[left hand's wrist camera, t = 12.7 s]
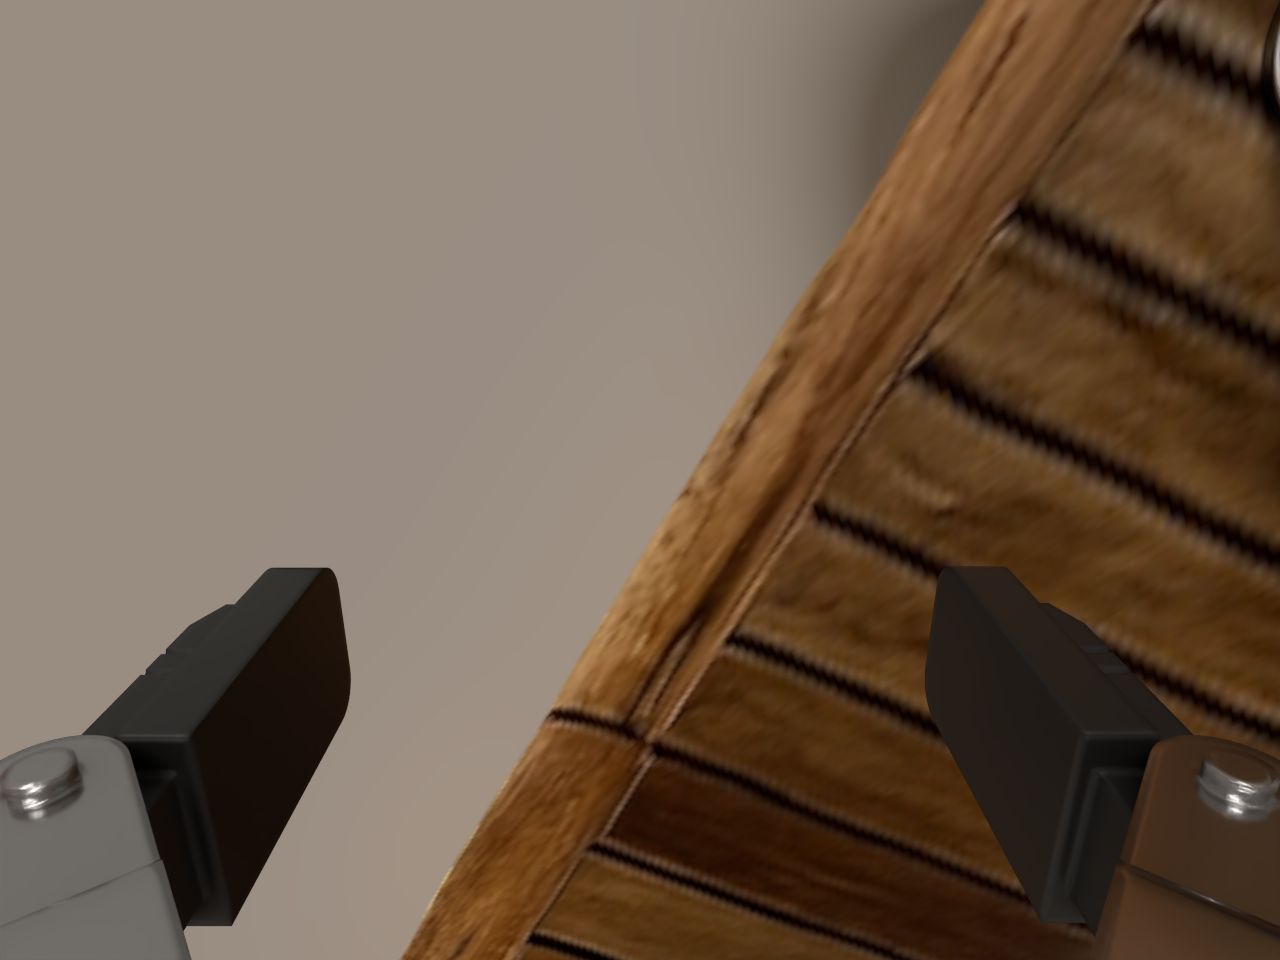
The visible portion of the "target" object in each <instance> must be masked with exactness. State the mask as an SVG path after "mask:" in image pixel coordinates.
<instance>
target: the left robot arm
mask: <svg viewBox="0 0 1280 960" xmlns="http://www.w3.org/2000/svg"><path fill="white" fill-rule="evenodd" d="M1265 76H1266V84H1267V89H1268V93H1269V96H1270V99H1271V102H1272V105H1273V107H1274V109H1275V111H1276V113H1277V115H1278V116H1279V118H1280V3H1279V5H1278V8H1277V10H1276V12H1275V15H1274V18H1273V21H1272V24H1271V27H1270V31H1269V35H1268V39H1267V46H1266V53H1265ZM350 686H351V673H350V665H349V658H348V650H347V644H346V637H345V629H344V622H343V615H342V608H341V601H340V594H339V587H338V582H337V579H336V576H335V574H334V572H333V571H332V570H331V569H330V568H270V569H268V570H267V571H265V572H264V574H263V575H262V576H261V577H260V578H259V579H258V580H257V581H256V582H255V583H254V584H253V585H252V586H251V587H250V589H249V590H248V591H247V592H246V593H245V594H244V595H243V596H242V597H241V598H240V599H239V600H238V601H237V603H236V604H235V605H225V606H223V607H221V608H219V609H218V610H216V611H214V612H212V613H211V614H209V615H207V616H205V617H204V618H202V619H200V620H198V621H196V622H195V623H193V624H191V625H190V626H189V627H188V628H187V629H186V630H185V631H184V632H183V633H182V634H181V635H180V636H179V637H178V638H177V639H176V640H175V641H174V642H173V643H172V644H171V645H170V646H169V647H168V648H167V649H166V654H161V655H160V656H159V657H158V658H157V659H156V660H155V661H154V662H153V663H152V664H151V665H150V666H149V667H148V668H147V669H146V674H145V675H140V676H139V677H138V678H137V679H136V680H135V681H134V682H133V683H132V684H131V685H130V686H129V687H128V688H127V689H126V690H125V691H124V693H122V694H121V695H120V696H119V697H118V699H116V700H115V701H114V703H113V704H112V705H111V706H110V707H109V708H108V709H107V710H106V711H105V712H104V713H103V714H102V715H101V716H100V717H99V718H98V719H97V720H96V721H95V722H94V723H93V724H92V725H91V726H90V727H89V728H88V729H87V730H86V731H85V732H84V733H83V734H82V735H79V736H71V737H65V738H60V739H55V740H51V741H47V742H44V743H40V744H37V745H34V746H32V747H29V748H26V749H23V750H21V751H19V752H17V753H14V754H12V755H10V756H8V757H6V758H4V759H2V760H0V960H191V957H190V953H189V950H188V946H187V943H186V939H185V936H184V932H183V931H184V929H185V928H186V926H232V924H233V923H234V921H235V919H236V917H237V915H238V913H239V911H240V910H241V908H242V906H243V904H244V902H245V900H246V898H247V897H248V895H249V893H250V891H251V889H252V887H253V885H254V884H255V882H256V880H257V878H258V876H259V874H260V873H261V871H262V869H263V867H264V865H265V863H266V861H267V860H268V858H269V856H270V854H271V852H272V850H273V848H274V847H275V845H276V843H277V841H278V839H279V837H280V835H281V834H282V832H283V830H284V828H285V826H286V824H287V822H288V821H289V819H290V817H291V815H292V813H293V811H294V809H295V808H296V806H297V804H298V802H299V800H300V798H301V797H302V795H303V793H304V791H305V789H306V787H307V785H308V783H309V782H310V780H311V778H312V776H313V774H314V772H315V770H316V769H317V767H318V765H319V763H320V761H321V759H322V758H323V756H324V754H325V752H326V750H327V748H328V746H329V745H330V743H331V741H332V739H333V737H334V735H335V733H336V732H337V730H338V728H339V726H340V724H341V722H342V720H343V718H344V716H345V713H346V710H347V706H348V702H349V696H350ZM925 689H926V697H927V702H928V706H929V710H930V713H931V716H932V718H933V720H934V722H935V724H936V725H937V727H938V729H939V731H940V733H941V735H942V737H943V739H944V740H945V742H946V744H947V746H948V748H949V750H950V752H951V754H952V755H953V757H954V759H955V761H956V763H957V765H958V767H959V769H960V770H961V772H962V774H963V776H964V778H965V780H966V782H967V784H968V785H969V787H970V789H971V791H972V793H973V795H974V797H975V799H976V800H977V802H978V804H979V806H980V808H981V810H982V812H983V814H984V816H985V817H986V819H987V821H988V823H989V825H990V827H991V829H992V831H993V832H994V834H995V836H996V838H997V840H998V842H999V844H1000V846H1001V847H1002V849H1003V851H1004V853H1005V855H1006V857H1007V859H1008V861H1009V862H1010V864H1011V866H1012V868H1013V870H1014V872H1015V874H1016V876H1017V877H1018V879H1019V881H1020V883H1021V885H1022V887H1023V889H1024V891H1025V892H1026V894H1027V896H1028V898H1029V900H1030V902H1031V904H1032V906H1033V907H1034V909H1035V911H1036V913H1037V915H1038V917H1039V919H1040V921H1041V922H1042V923H1087V925H1088V927H1089V928H1090V930H1091V932H1092V933H1093V935H1094V937H1095V939H1094V943H1093V946H1092V950H1091V953H1090V957H1089V960H1280V760H1278V759H1276V758H1274V757H1272V756H1270V755H1268V754H1266V753H1263V752H1261V751H1259V750H1257V749H1254V748H1251V747H1248V746H1246V745H1243V744H1240V743H1236V742H1233V741H1229V740H1225V739H1220V738H1216V737H1209V736H1201V735H1193V734H1192V733H1191V732H1190V731H1189V730H1188V729H1187V728H1186V727H1185V726H1184V725H1183V724H1182V723H1181V722H1180V721H1179V720H1178V719H1177V718H1176V717H1175V716H1174V714H1173V713H1172V712H1171V711H1170V710H1169V709H1168V708H1167V707H1166V706H1165V705H1164V704H1163V703H1162V702H1161V701H1160V700H1159V699H1158V698H1157V697H1156V696H1155V695H1154V694H1153V693H1152V692H1151V691H1150V690H1149V689H1148V688H1147V687H1146V686H1145V685H1144V684H1143V683H1142V682H1141V681H1140V680H1139V679H1138V678H1137V677H1136V676H1135V675H1134V674H1133V673H1128V667H1127V666H1126V665H1125V664H1124V663H1123V662H1122V661H1121V660H1120V659H1119V658H1118V657H1117V656H1116V655H1115V654H1114V653H1109V652H1108V647H1107V646H1106V645H1105V644H1104V643H1103V642H1102V641H1101V640H1100V639H1099V638H1098V637H1097V636H1096V635H1095V634H1094V633H1093V632H1092V631H1091V630H1090V629H1089V628H1088V627H1087V626H1086V625H1085V624H1084V623H1083V622H1081V621H1079V620H1077V619H1076V618H1074V617H1072V616H1070V615H1068V614H1067V613H1065V612H1063V611H1061V610H1060V609H1058V608H1056V607H1054V606H1053V605H1051V604H1049V603H1039V602H1038V601H1037V599H1036V598H1035V597H1034V596H1033V595H1032V594H1031V593H1030V592H1029V591H1028V590H1027V589H1026V587H1025V586H1024V585H1023V584H1022V583H1021V582H1020V581H1019V580H1018V579H1017V578H1016V577H1015V576H1014V574H1013V573H1012V572H1011V571H1010V570H1009V569H1008V568H1006V567H1001V566H947V567H945V568H944V569H943V570H942V572H941V573H940V576H939V579H938V583H937V588H936V596H935V603H934V610H933V617H932V624H931V632H930V639H929V646H928V653H927V660H926V668H925Z"/></svg>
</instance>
